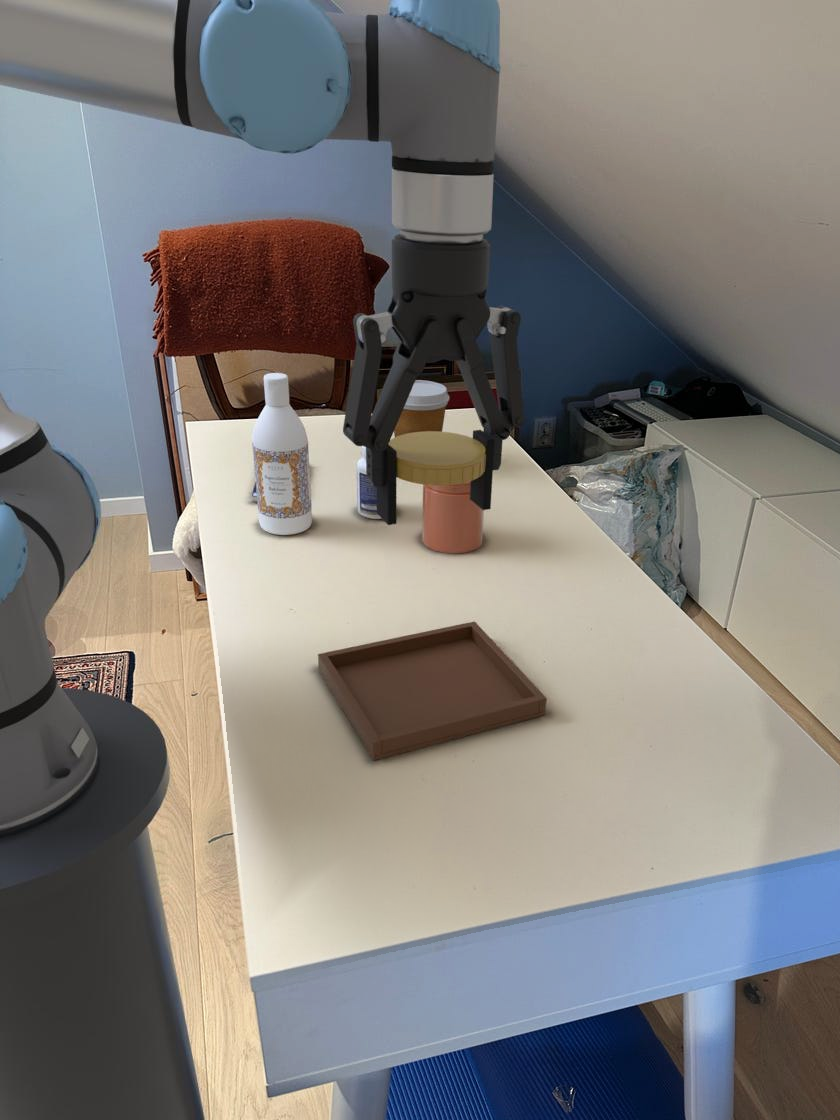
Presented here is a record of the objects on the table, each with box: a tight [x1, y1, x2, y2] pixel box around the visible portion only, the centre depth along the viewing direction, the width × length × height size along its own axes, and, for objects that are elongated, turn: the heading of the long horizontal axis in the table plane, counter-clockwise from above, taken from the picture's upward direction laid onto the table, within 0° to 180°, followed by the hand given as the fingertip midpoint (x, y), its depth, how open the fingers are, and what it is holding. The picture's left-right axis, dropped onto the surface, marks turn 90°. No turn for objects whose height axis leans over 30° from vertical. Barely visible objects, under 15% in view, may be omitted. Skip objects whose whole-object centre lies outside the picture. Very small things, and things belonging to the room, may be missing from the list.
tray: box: [317, 621, 548, 761], centre depth 88 cm, size 18×16×2 cm
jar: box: [421, 481, 485, 554], centre depth 116 cm, size 8×8×10 cm
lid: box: [389, 431, 486, 485], centre depth 77 cm, size 9×9×2 cm
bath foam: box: [251, 372, 313, 536], centre depth 114 cm, size 7×7×20 cm
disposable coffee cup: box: [393, 379, 450, 438], centre depth 139 cm, size 10×10×12 cm
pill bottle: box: [356, 446, 383, 520], centre depth 122 cm, size 5×5×10 cm
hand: (434, 510), depth 79 cm, fingers closed on lid, 8 cm apart
